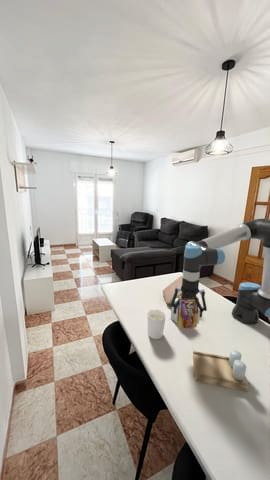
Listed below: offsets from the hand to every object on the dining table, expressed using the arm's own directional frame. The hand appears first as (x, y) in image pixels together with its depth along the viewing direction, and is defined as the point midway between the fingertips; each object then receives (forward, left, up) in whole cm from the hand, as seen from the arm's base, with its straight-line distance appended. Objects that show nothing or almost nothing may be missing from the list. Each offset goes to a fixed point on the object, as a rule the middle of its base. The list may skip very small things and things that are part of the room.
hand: (186, 320), depth 96 cm
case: (+2, -47, -15) cm, 49 cm away
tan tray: (-14, +12, -15) cm, 24 cm away
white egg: (-21, +9, -12) cm, 26 cm away
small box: (+2, -23, -15) cm, 27 cm away
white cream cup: (+15, -6, -15) cm, 22 cm away
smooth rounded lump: (-21, +15, -12) cm, 28 cm away
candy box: (0, 0, -3) cm, 3 cm away
